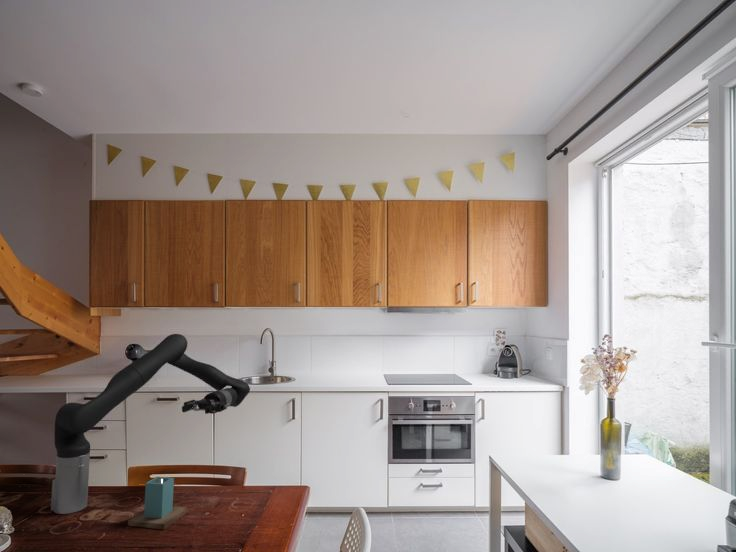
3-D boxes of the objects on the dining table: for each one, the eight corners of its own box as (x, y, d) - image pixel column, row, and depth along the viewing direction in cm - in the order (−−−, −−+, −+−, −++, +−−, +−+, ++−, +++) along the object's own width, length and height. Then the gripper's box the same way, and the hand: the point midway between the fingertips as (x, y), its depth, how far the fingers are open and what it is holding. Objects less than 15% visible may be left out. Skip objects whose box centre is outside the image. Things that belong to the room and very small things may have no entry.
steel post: (153, 514, 147) (155, 479, 147) (157, 512, 148) (159, 477, 149) (159, 515, 146) (161, 480, 147) (163, 512, 148) (164, 477, 149)
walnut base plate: (127, 525, 142) (128, 520, 143) (152, 508, 154) (153, 504, 154) (164, 529, 140) (164, 524, 140) (186, 512, 152) (187, 507, 152)
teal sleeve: (144, 516, 145) (145, 483, 146) (155, 509, 151) (157, 476, 151) (161, 518, 144) (163, 484, 145) (172, 510, 150) (173, 477, 150)
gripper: (200, 389, 181) (176, 397, 165) (235, 391, 178) (214, 399, 163) (199, 410, 181) (175, 419, 165) (235, 412, 178) (213, 422, 162)
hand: (194, 410), depth 164 cm, fingers open, 8 cm apart
